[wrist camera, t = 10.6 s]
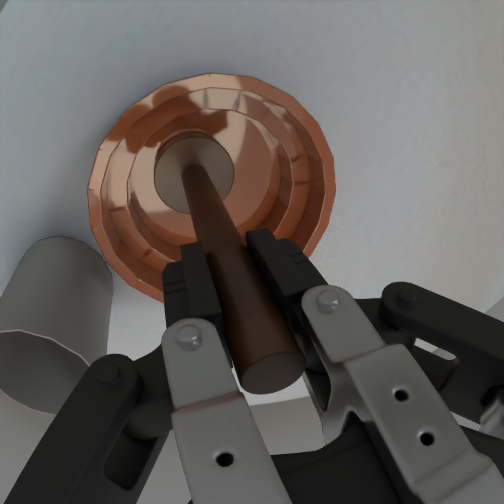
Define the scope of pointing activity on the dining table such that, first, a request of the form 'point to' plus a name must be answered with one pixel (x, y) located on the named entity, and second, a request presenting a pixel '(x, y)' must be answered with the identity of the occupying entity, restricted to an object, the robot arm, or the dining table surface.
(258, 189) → the bowl
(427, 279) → the dining table surface
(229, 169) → the upright rod on disc
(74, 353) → the cup
